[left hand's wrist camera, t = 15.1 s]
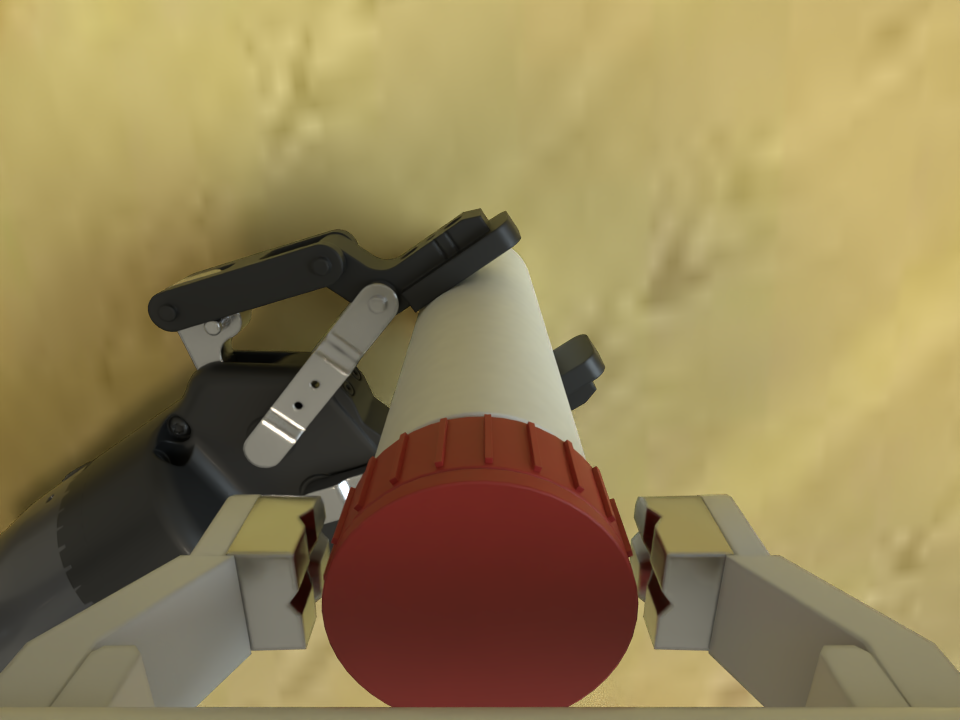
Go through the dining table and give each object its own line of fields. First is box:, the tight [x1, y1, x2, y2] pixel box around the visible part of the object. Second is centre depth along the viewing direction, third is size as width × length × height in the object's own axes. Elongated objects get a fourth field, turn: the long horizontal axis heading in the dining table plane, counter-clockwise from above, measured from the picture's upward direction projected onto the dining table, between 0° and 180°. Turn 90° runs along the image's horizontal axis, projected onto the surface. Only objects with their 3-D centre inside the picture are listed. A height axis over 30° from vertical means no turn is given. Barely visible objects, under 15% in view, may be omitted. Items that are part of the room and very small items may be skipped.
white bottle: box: [375, 248, 586, 460], centre depth 17 cm, size 4×4×17 cm
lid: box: [322, 414, 638, 707], centre depth 10 cm, size 5×5×2 cm
